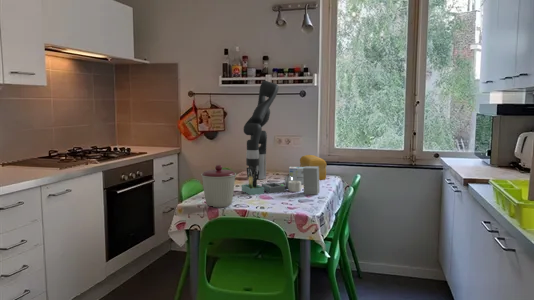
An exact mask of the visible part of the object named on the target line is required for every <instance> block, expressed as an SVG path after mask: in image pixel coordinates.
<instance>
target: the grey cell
mask: <svg viewBox="0 0 534 300" xmlns="http://www.w3.org/2000/svg"><path fill="white" fill-rule="evenodd" d="M284 181H285V182H284V186H285V190H288V182H289V181H293V177H290V176H289V175H288V176H284Z"/></svg>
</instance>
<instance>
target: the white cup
mask: <svg viewBox="0 0 534 300" xmlns="http://www.w3.org/2000/svg"><path fill="white" fill-rule="evenodd" d="M287 190H288V191H289V192H290V193H291V192H292V193H299V192H301V191H302V184H301V182H300V181H289V182H288V189H287Z"/></svg>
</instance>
